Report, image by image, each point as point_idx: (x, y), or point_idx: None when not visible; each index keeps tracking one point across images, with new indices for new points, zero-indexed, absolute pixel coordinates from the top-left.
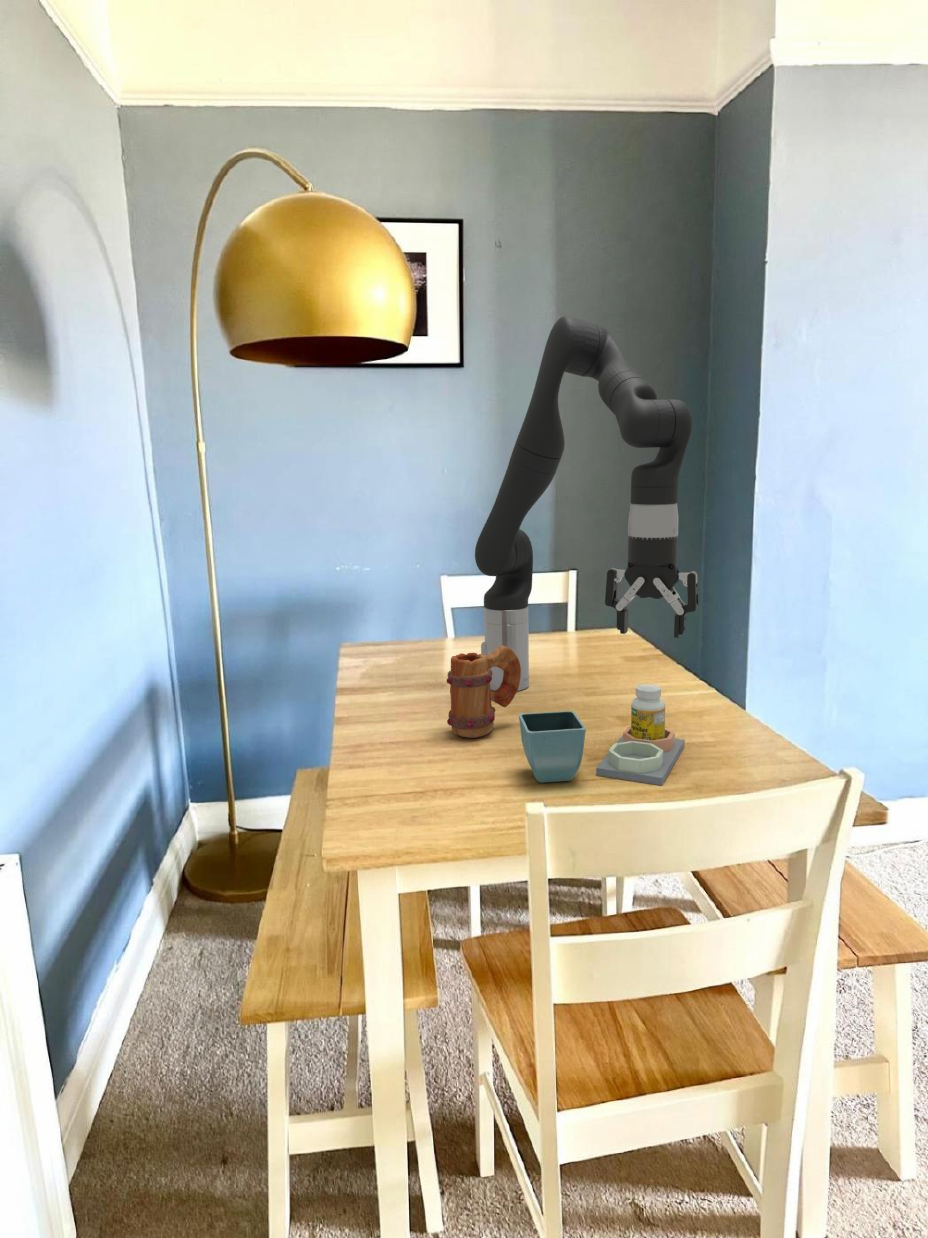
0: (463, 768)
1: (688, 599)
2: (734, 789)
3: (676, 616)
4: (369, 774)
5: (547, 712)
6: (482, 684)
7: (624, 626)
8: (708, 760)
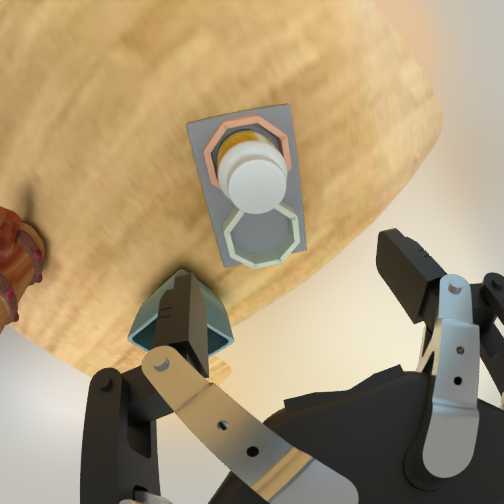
0: (103, 316)
1: (482, 356)
2: (375, 210)
3: (417, 319)
4: (70, 353)
5: (149, 322)
6: (16, 300)
7: (206, 326)
8: (333, 139)
